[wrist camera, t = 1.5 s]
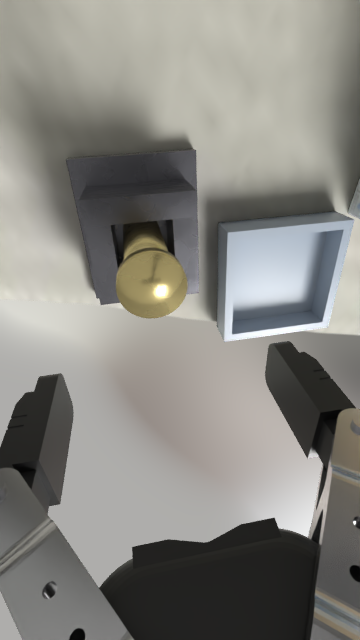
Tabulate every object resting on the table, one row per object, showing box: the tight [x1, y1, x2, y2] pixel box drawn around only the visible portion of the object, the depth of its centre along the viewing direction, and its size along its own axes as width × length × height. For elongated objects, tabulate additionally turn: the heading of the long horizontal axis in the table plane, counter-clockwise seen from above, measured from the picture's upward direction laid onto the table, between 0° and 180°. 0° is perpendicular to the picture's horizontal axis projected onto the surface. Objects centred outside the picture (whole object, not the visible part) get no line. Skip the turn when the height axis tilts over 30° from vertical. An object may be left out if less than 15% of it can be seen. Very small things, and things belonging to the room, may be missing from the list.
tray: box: [217, 211, 354, 342], centre depth 32 cm, size 12×12×3 cm
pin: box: [116, 221, 188, 318], centre depth 23 cm, size 4×4×11 cm
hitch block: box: [66, 149, 199, 305], centre depth 26 cm, size 12×10×6 cm
